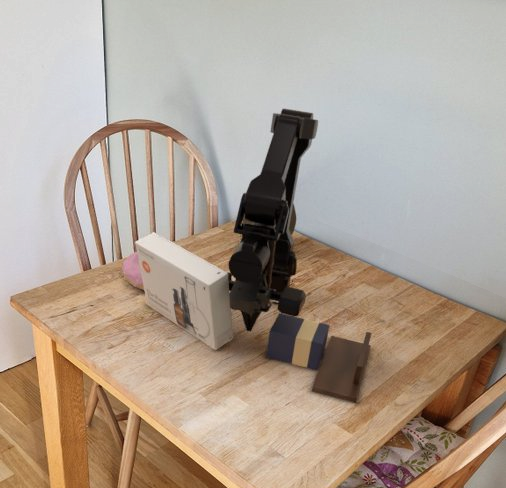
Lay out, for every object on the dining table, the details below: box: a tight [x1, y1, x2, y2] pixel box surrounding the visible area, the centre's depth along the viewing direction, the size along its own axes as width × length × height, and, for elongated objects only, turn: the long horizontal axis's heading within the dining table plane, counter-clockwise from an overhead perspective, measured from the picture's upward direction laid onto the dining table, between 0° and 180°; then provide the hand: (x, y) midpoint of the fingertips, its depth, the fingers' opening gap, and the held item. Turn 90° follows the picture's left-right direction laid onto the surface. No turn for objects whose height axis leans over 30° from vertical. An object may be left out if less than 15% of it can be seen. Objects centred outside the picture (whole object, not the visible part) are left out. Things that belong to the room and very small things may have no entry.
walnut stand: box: [311, 331, 372, 404], centre depth 114 cm, size 8×18×5 cm, turn 163°
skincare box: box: [134, 231, 234, 351], centre depth 118 cm, size 21×5×16 cm, turn 47°
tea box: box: [265, 312, 331, 371], centre depth 117 cm, size 10×7×6 cm
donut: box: [121, 250, 144, 291], centre depth 136 cm, size 16×15×5 cm
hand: (249, 330), depth 119 cm, fingers closed
